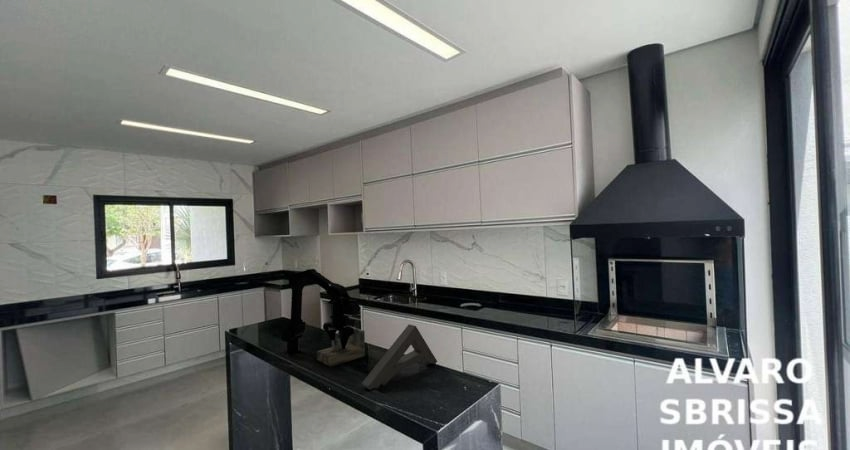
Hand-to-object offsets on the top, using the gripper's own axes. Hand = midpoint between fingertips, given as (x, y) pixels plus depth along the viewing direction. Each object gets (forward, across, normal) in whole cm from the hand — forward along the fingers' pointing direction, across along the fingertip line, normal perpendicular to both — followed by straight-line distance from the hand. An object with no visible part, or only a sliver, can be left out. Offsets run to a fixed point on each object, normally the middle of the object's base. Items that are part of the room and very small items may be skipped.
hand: (338, 346), depth 160 cm
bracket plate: (+4, 0, 0) cm, 5 cm away
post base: (+6, 0, -2) cm, 6 cm away
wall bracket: (+6, -36, -8) cm, 37 cm away
